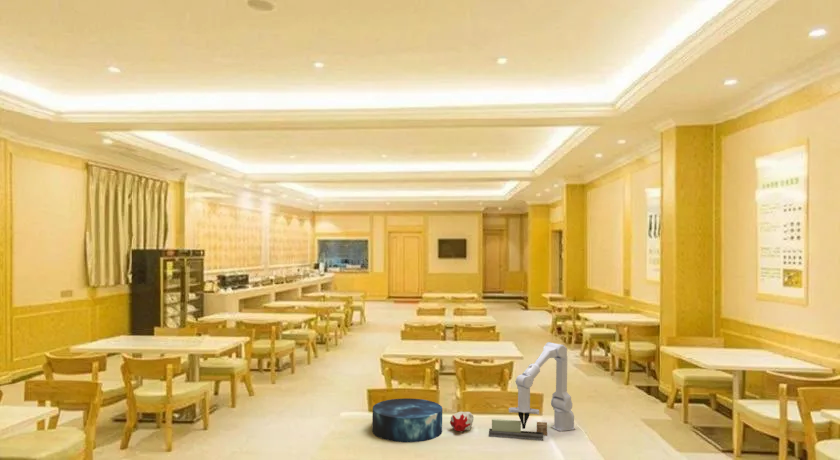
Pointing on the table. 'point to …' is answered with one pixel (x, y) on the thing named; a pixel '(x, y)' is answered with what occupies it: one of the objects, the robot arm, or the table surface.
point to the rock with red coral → (461, 421)
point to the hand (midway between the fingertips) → (523, 428)
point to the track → (517, 435)
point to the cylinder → (407, 420)
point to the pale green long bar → (506, 425)
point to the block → (542, 427)
